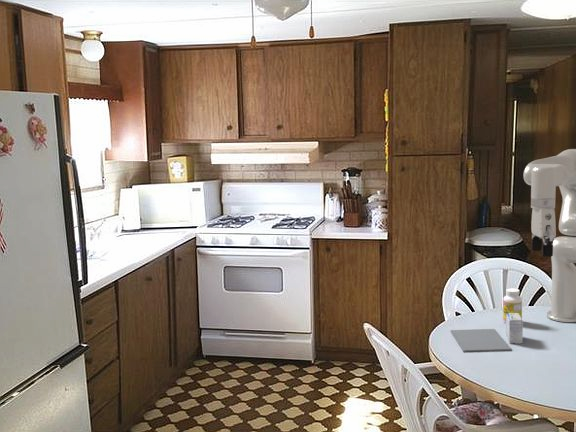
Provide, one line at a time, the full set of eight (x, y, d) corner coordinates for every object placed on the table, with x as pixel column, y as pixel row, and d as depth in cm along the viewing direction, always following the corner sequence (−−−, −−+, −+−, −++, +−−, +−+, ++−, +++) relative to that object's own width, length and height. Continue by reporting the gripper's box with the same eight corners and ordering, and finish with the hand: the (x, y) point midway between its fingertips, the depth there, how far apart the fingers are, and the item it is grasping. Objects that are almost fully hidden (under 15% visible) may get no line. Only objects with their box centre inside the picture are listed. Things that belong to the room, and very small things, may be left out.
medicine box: (522, 344, 212) (523, 320, 210) (509, 343, 213) (509, 319, 211) (518, 336, 219) (519, 312, 218) (505, 335, 220) (506, 312, 219)
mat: (450, 331, 227) (450, 330, 227) (494, 330, 226) (494, 328, 226) (463, 351, 207) (463, 350, 207) (511, 350, 206) (511, 348, 206)
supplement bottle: (499, 320, 236) (500, 288, 234) (515, 318, 237) (515, 286, 235) (509, 326, 230) (509, 293, 228) (525, 324, 231) (525, 291, 229)
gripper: (565, 206, 196) (563, 258, 198) (544, 199, 213) (543, 248, 215) (541, 207, 196) (540, 259, 199) (522, 200, 213) (521, 248, 216)
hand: (541, 253), depth 207 cm, fingers open, 9 cm apart
